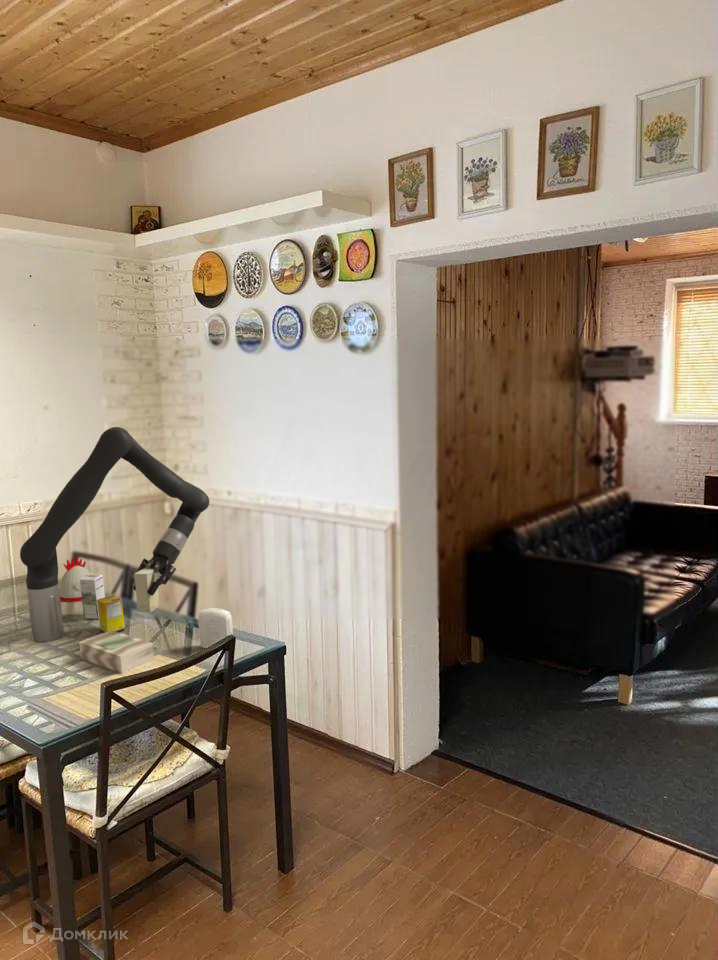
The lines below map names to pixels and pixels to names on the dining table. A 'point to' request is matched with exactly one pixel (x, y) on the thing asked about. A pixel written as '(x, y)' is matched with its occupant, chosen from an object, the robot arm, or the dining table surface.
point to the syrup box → (91, 594)
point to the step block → (116, 651)
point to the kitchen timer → (72, 581)
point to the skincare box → (145, 590)
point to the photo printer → (214, 625)
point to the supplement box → (111, 614)
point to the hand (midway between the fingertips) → (142, 592)
